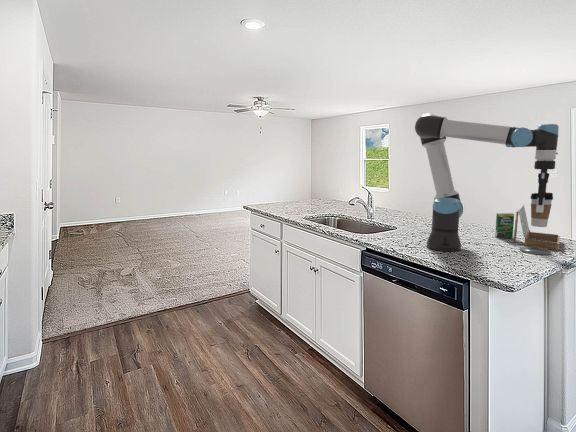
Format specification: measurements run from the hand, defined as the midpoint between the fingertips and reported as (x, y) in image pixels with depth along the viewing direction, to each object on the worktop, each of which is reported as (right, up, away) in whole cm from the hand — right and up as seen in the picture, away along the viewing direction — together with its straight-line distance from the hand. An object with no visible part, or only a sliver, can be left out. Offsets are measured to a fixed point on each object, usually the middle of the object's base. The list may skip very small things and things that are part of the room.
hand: (540, 211), depth 166 cm
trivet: (0, -18, +3) cm, 19 cm away
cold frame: (+11, -16, +19) cm, 27 cm away
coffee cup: (0, -7, +1) cm, 7 cm away
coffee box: (+2, -14, +32) cm, 35 cm away
